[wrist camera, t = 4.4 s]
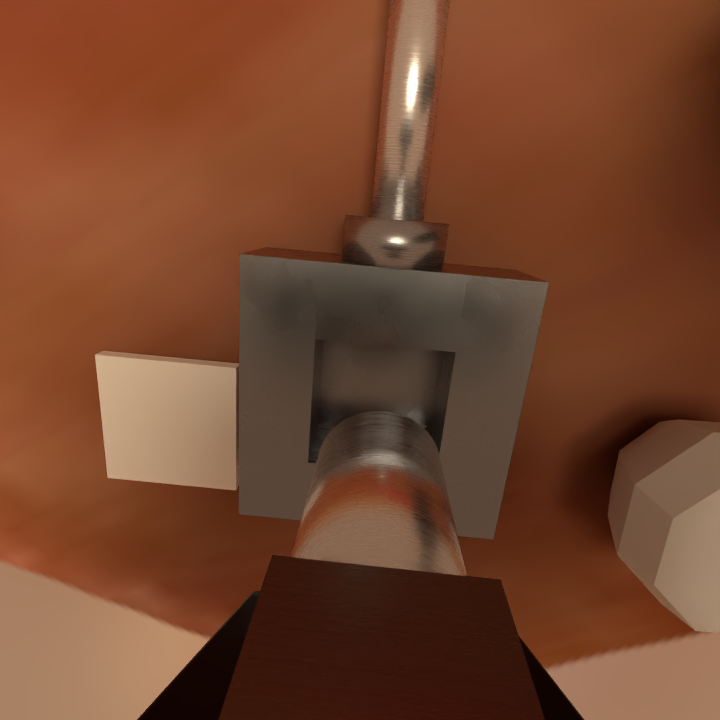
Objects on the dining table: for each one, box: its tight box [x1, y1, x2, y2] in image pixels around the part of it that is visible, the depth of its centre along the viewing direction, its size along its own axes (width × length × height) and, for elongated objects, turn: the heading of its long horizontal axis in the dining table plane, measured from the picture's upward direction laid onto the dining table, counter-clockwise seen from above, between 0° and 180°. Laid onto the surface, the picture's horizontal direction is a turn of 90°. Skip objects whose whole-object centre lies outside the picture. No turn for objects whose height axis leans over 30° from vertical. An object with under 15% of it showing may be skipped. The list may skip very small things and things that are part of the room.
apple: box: [608, 419, 720, 632], centre depth 17 cm, size 8×8×7 cm
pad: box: [95, 351, 239, 490], centre depth 20 cm, size 6×6×1 cm
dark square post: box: [218, 411, 545, 720], centre depth 8 cm, size 3×3×10 cm
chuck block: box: [239, 0, 549, 539], centre depth 16 cm, size 10×20×4 cm, turn 175°
